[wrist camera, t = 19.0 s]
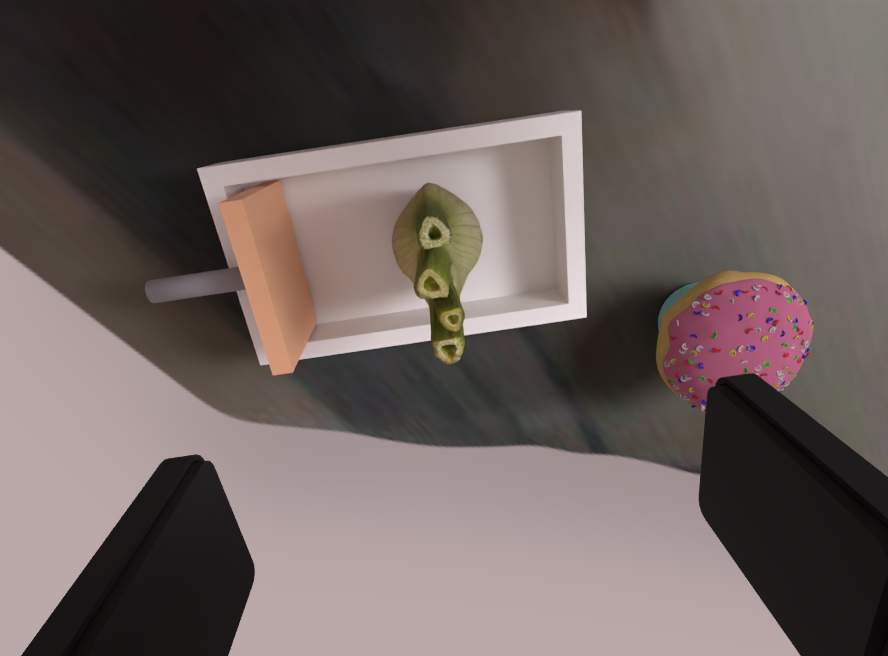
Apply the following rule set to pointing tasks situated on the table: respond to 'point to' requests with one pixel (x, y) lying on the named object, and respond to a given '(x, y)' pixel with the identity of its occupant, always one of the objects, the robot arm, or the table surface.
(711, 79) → the table surface
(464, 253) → the fennel bulb
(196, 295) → the pusher
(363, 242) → the white tray
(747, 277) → the cupcake
